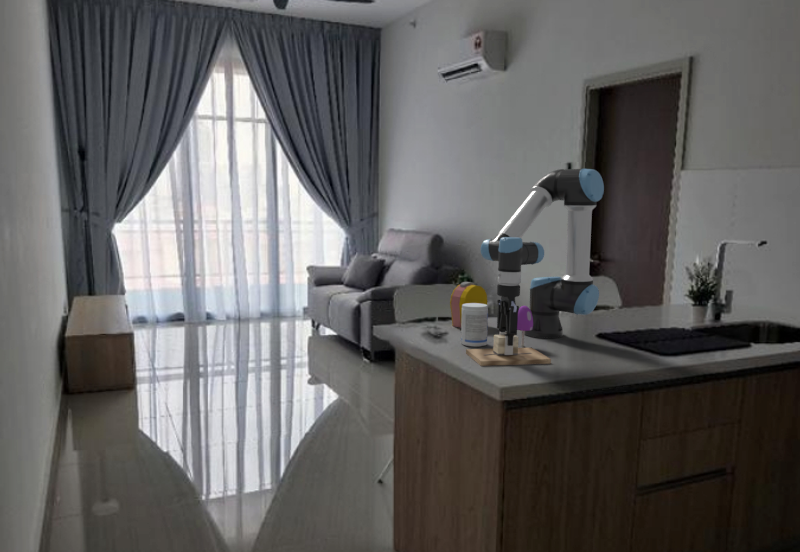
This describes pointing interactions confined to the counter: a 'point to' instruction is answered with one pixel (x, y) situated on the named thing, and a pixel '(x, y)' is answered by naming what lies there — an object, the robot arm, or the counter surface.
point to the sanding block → (500, 345)
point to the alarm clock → (465, 299)
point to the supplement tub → (474, 324)
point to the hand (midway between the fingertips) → (505, 352)
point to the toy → (524, 321)
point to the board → (507, 357)
